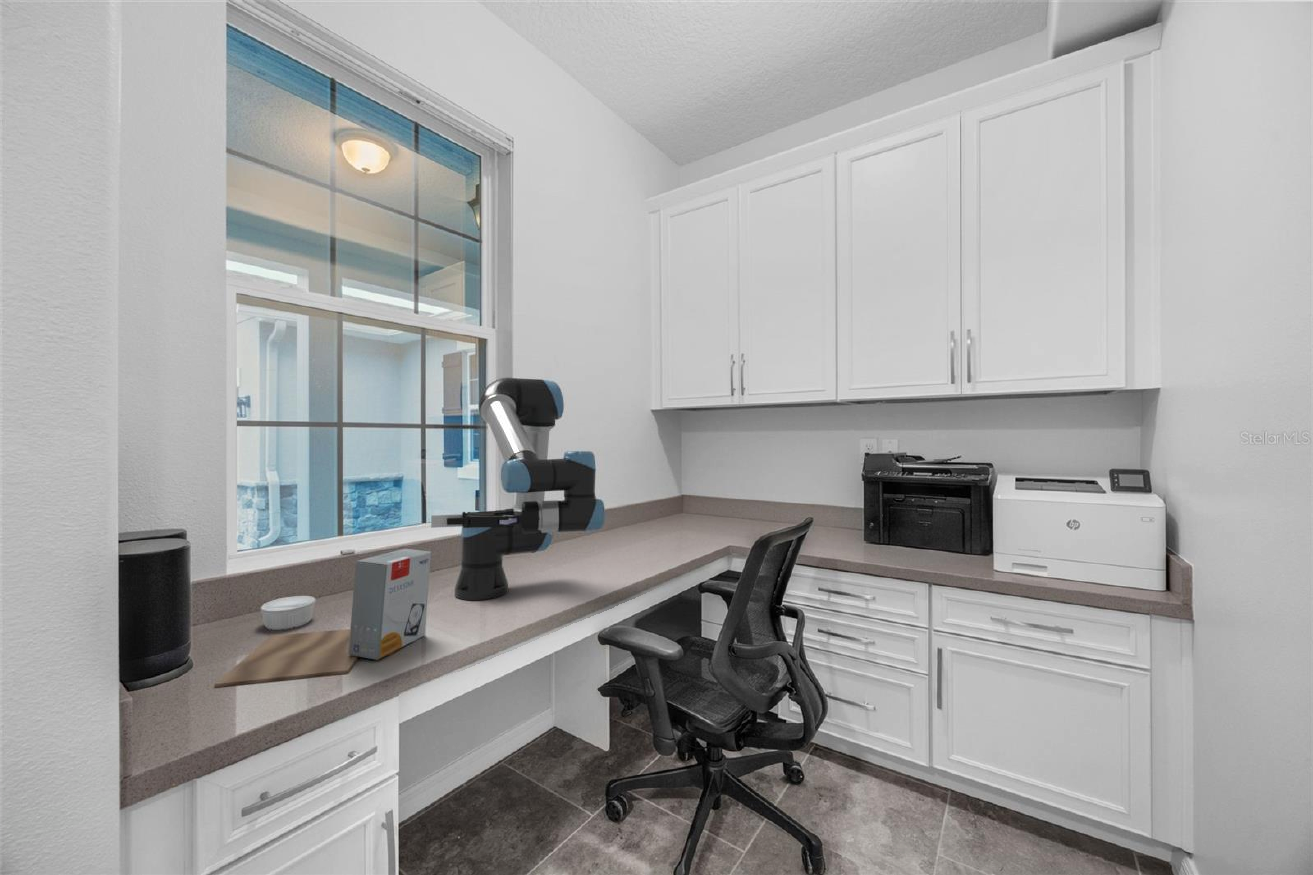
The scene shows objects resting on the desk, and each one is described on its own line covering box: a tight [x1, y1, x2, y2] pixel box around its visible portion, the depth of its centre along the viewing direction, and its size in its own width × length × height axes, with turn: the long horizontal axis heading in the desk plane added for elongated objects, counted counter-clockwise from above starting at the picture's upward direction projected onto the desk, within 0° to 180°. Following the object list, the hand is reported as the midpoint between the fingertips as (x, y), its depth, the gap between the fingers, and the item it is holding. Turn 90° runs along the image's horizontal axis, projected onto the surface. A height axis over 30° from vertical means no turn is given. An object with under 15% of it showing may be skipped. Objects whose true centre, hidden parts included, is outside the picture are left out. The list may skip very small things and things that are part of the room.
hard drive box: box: [348, 548, 432, 661], centre depth 115 cm, size 16×8×20 cm, turn 168°
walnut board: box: [214, 628, 360, 688], centre depth 111 cm, size 22×24×1 cm
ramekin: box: [260, 595, 316, 631], centre depth 129 cm, size 11×11×5 cm
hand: (431, 521), depth 116 cm, fingers closed
